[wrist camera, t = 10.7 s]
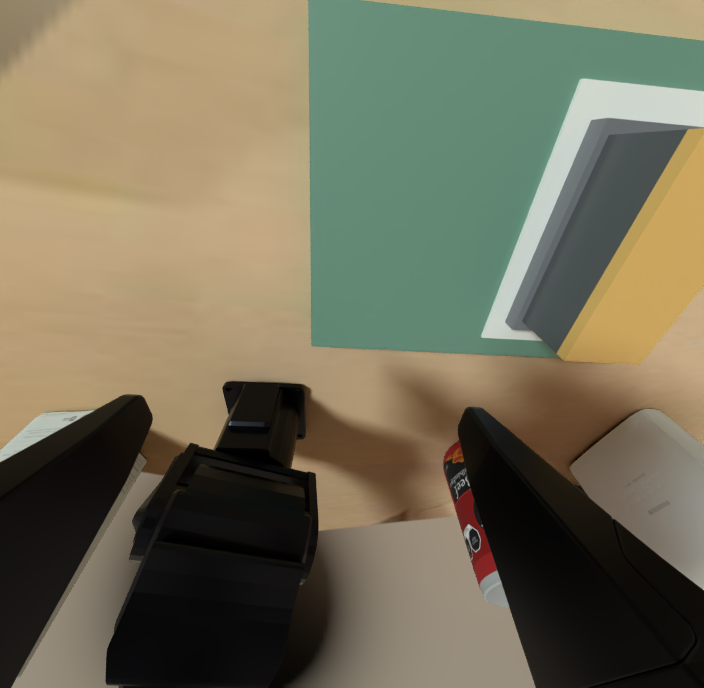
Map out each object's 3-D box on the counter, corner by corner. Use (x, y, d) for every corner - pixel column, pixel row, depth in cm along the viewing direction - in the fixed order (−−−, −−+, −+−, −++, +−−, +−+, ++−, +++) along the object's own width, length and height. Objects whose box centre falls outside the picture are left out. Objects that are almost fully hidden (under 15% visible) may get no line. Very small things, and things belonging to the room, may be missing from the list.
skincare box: (41, 411, 25) (-264, 670, 12) (108, 406, 24) (-132, 664, 12) (97, 467, 29) (-83, 695, 17) (154, 463, 29) (14, 691, 17)
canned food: (500, 420, 26) (581, 561, 17) (526, 461, 30) (604, 594, 21) (427, 451, 29) (465, 588, 20) (459, 485, 33) (503, 614, 23)
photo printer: (639, 402, 25) (836, 570, 15) (674, 412, 26) (883, 577, 16) (559, 466, 31) (665, 622, 21) (590, 472, 32) (707, 625, 21)
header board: (573, 347, 22) (636, 401, 17) (313, 334, 21) (304, 388, 16) (750, 61, 13) (983, 8, 8) (312, 10, 12) (289, -84, 7)
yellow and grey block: (584, 324, 18) (639, 364, 14) (521, 321, 17) (563, 360, 14) (695, 143, 12) (822, 139, 9) (608, 134, 12) (707, 127, 9)
